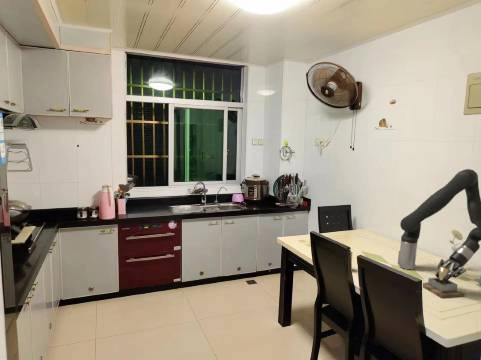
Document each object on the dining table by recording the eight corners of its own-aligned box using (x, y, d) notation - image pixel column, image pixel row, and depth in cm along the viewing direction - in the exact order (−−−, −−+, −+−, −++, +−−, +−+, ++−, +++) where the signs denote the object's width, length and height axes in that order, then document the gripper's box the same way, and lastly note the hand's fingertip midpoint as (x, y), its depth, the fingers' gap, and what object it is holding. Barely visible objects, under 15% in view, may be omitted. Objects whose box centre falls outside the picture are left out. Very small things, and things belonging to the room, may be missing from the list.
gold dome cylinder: (435, 283, 175) (437, 266, 174) (442, 283, 176) (444, 265, 175) (442, 287, 171) (444, 269, 170) (449, 287, 172) (451, 269, 171)
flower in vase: (467, 273, 200) (472, 234, 197) (446, 270, 202) (451, 232, 199) (457, 265, 213) (462, 228, 210) (438, 263, 215) (442, 226, 212)
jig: (420, 285, 180) (421, 276, 179) (442, 284, 182) (443, 275, 182) (441, 298, 166) (442, 288, 165) (463, 296, 169) (465, 286, 168)
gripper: (447, 246, 180) (426, 268, 179) (469, 256, 166) (447, 279, 165) (454, 255, 182) (433, 277, 181) (477, 265, 168) (455, 288, 167)
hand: (440, 278), depth 173 cm, fingers closed on gold dome cylinder, 4 cm apart
